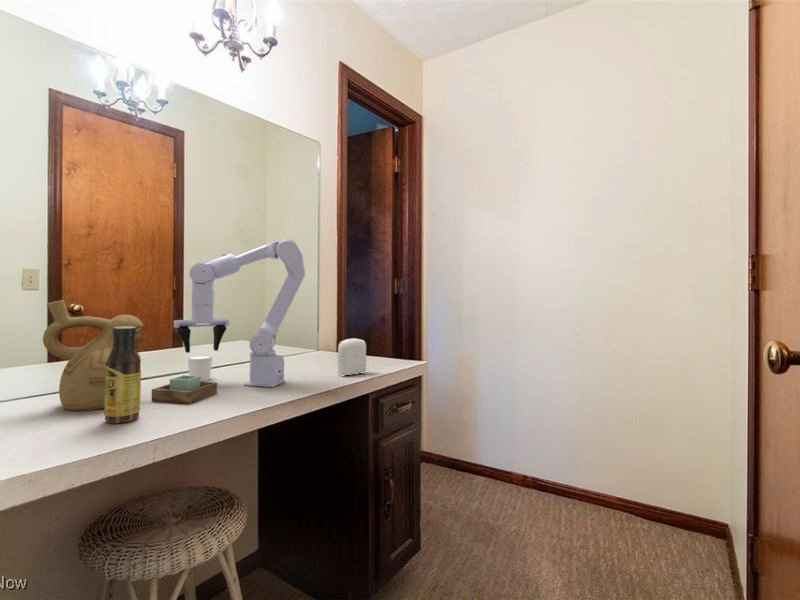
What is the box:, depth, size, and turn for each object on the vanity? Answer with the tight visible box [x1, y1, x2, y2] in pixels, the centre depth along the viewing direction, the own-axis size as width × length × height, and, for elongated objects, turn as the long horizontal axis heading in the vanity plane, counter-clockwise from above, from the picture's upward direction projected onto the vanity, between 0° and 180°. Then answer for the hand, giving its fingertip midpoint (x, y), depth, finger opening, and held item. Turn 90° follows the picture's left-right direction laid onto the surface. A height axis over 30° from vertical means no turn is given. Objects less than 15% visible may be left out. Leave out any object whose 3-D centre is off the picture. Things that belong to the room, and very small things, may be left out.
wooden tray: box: [151, 381, 218, 405], centre depth 102 cm, size 11×11×3 cm
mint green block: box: [169, 374, 201, 391], centre depth 102 cm, size 5×5×4 cm
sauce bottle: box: [103, 326, 142, 425], centre depth 84 cm, size 7×6×20 cm
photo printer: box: [337, 337, 367, 376], centre depth 135 cm, size 10×4×12 cm, turn 133°
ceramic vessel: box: [42, 299, 147, 411], centre depth 95 cm, size 17×20×25 cm
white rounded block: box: [187, 355, 213, 382], centre depth 123 cm, size 7×7×7 cm
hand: (202, 351), depth 116 cm, fingers open, 7 cm apart
